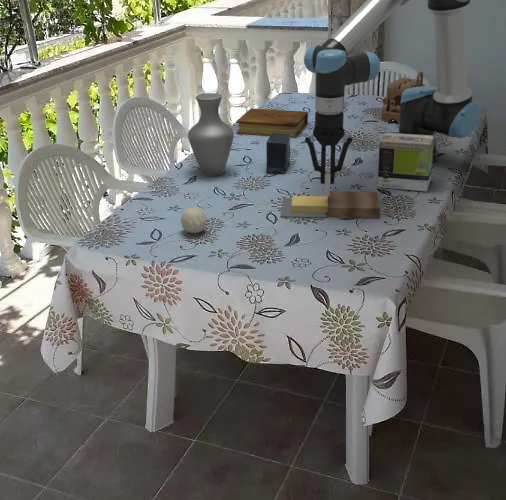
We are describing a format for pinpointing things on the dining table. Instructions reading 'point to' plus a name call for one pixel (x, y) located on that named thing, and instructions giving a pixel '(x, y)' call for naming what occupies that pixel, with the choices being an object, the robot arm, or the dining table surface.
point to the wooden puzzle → (398, 97)
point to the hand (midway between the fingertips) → (327, 194)
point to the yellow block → (310, 204)
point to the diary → (272, 122)
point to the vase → (210, 136)
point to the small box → (278, 153)
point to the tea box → (405, 161)
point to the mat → (287, 212)
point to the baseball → (193, 220)
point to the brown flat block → (353, 204)
